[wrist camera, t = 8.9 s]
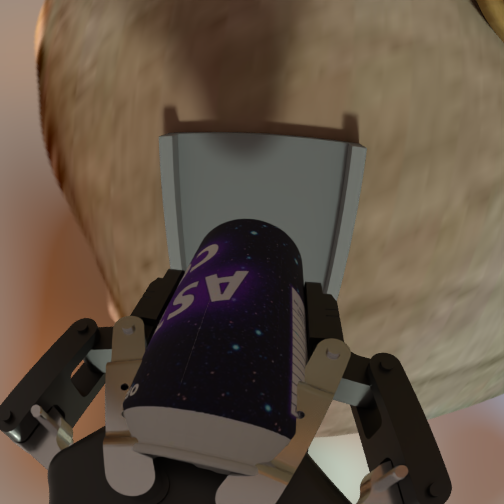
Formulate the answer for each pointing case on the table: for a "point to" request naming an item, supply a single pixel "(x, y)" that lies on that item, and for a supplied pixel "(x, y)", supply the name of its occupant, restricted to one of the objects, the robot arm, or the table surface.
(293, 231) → the gray tray
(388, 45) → the table surface
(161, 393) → the beverage can
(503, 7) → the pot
